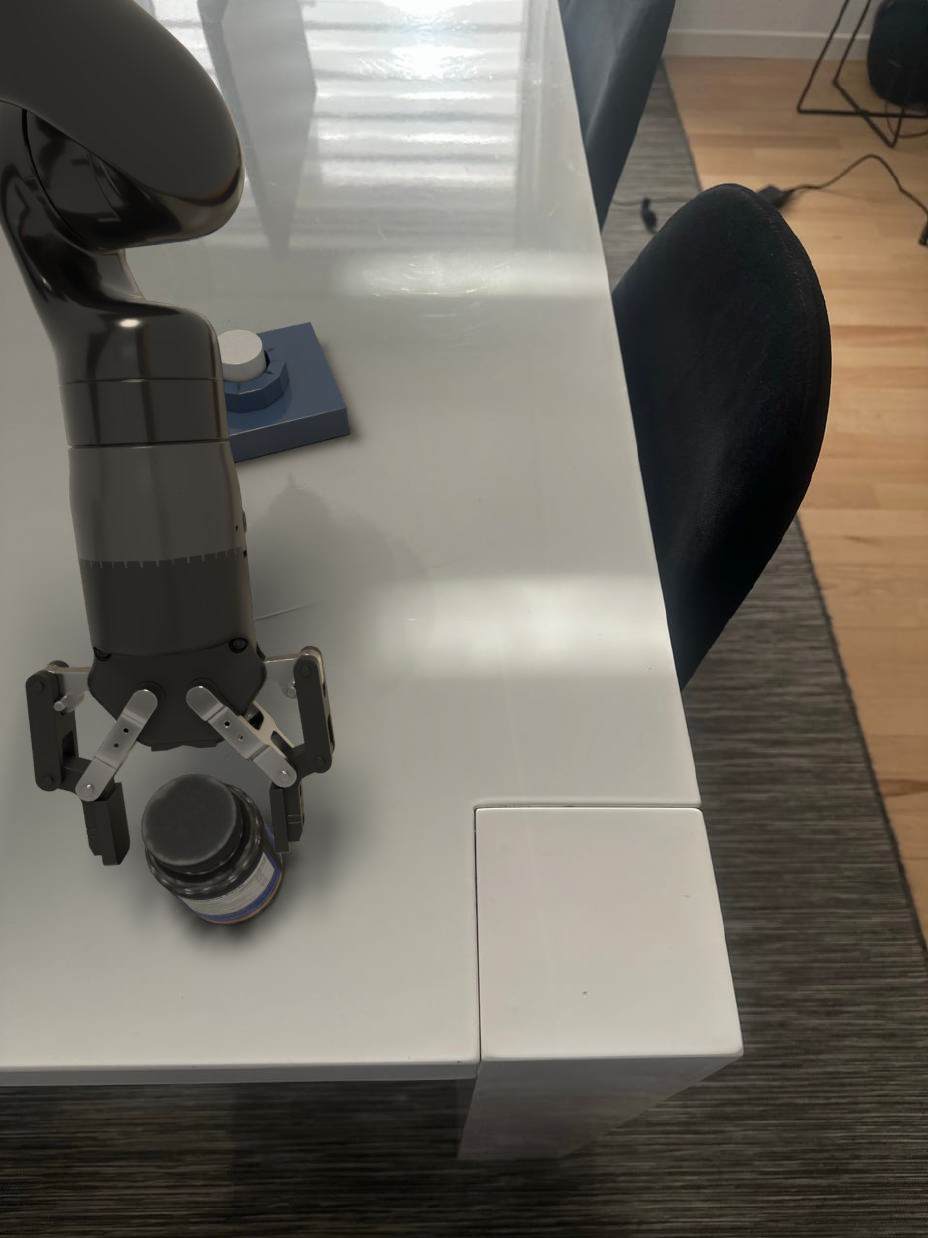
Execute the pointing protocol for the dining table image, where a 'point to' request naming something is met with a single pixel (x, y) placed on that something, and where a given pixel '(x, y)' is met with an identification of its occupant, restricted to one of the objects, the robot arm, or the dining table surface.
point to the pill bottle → (211, 849)
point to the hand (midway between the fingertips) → (202, 852)
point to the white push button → (241, 356)
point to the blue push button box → (285, 397)
